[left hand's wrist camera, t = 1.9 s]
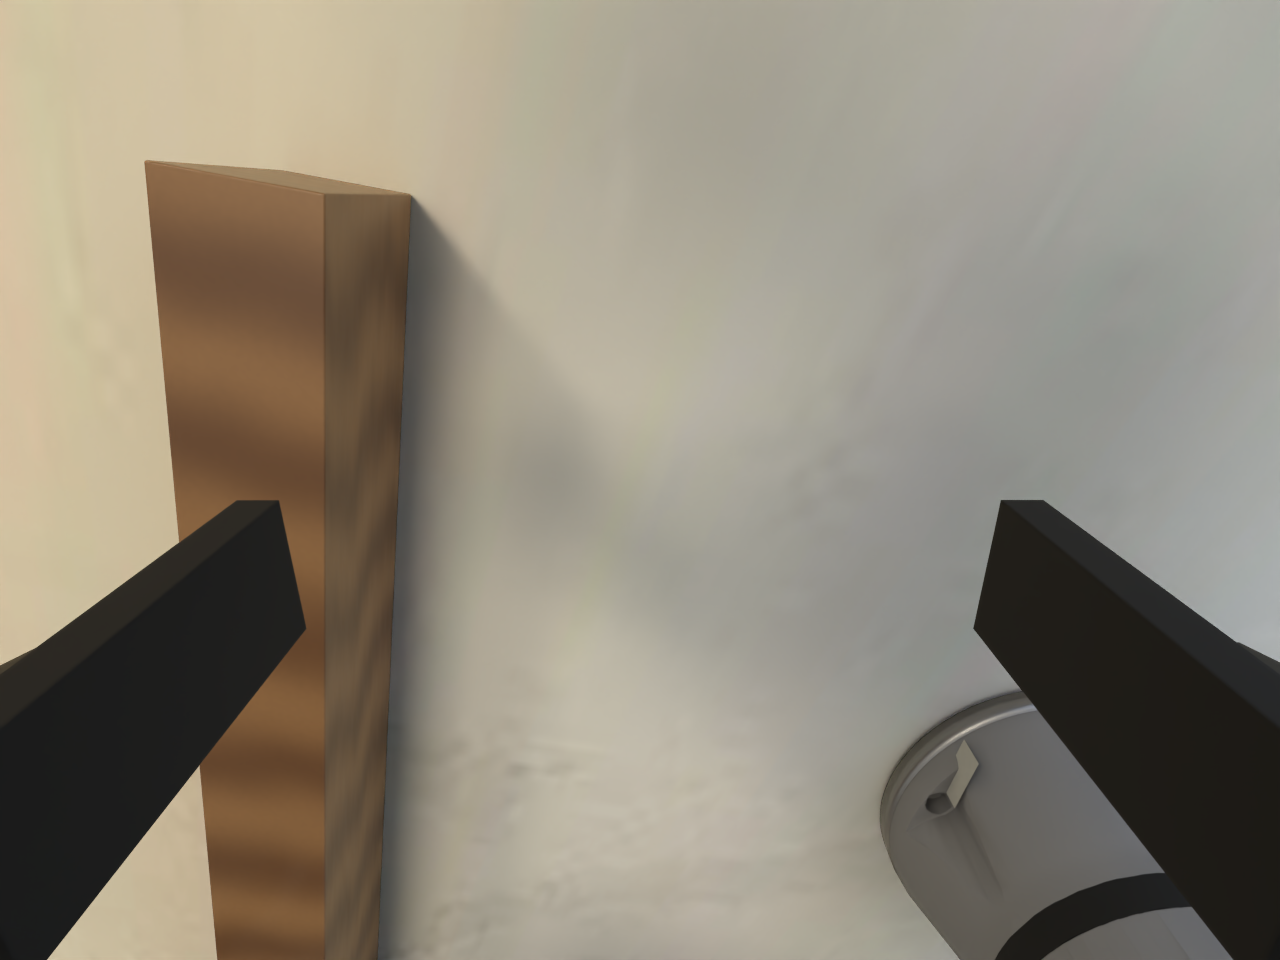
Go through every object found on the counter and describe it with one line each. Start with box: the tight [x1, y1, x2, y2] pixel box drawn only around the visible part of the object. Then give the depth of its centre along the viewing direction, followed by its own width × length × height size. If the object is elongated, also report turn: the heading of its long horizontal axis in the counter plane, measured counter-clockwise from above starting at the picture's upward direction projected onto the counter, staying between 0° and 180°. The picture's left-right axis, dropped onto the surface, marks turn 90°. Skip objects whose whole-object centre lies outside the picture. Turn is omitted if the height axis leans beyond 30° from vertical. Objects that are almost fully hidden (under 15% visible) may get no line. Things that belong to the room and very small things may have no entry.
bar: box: [145, 160, 411, 960], centre depth 31 cm, size 52×5×8 cm, turn 170°
